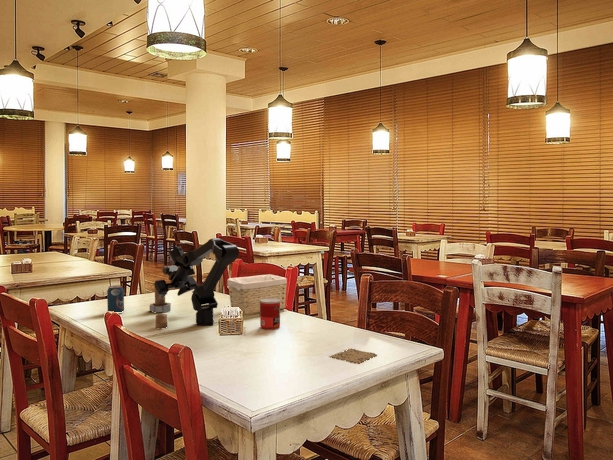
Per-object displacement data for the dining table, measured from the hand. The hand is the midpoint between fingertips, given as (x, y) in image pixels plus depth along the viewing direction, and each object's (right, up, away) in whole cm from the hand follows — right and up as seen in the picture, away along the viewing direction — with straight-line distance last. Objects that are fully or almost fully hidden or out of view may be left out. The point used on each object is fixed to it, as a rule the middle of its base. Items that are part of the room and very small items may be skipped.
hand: (169, 296), depth 234 cm
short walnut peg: (+3, -9, -24) cm, 26 cm away
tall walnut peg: (-5, -7, +6) cm, 11 cm away
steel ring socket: (-5, -7, +6) cm, 11 cm away
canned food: (+47, -10, -24) cm, 53 cm away
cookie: (+77, -12, -61) cm, 99 cm away
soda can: (-24, -8, +1) cm, 25 cm away
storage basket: (+39, -7, +9) cm, 40 cm away
